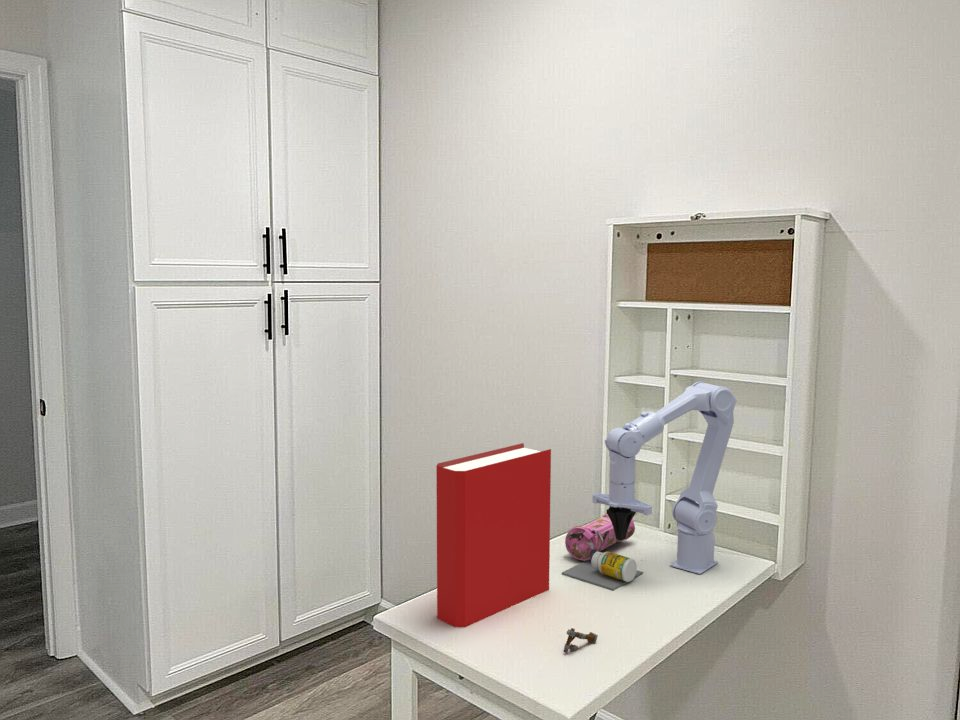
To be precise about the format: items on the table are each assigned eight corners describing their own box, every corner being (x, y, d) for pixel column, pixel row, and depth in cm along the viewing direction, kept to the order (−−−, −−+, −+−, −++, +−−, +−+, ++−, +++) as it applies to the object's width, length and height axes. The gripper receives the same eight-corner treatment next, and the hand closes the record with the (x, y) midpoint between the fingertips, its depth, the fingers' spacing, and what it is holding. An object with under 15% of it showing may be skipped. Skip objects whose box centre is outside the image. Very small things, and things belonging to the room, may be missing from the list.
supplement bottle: (639, 571, 182) (605, 560, 189) (634, 554, 180) (599, 543, 187) (627, 587, 179) (593, 575, 186) (622, 570, 177) (587, 559, 183)
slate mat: (592, 558, 195) (592, 557, 195) (642, 573, 186) (642, 571, 186) (561, 574, 185) (561, 572, 185) (613, 590, 176) (613, 588, 176)
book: (522, 579, 182) (523, 443, 178) (549, 589, 177) (550, 448, 173) (433, 616, 163) (432, 464, 159) (460, 629, 158) (460, 472, 154)
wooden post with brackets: (557, 649, 148) (565, 625, 148) (584, 654, 153) (591, 630, 153) (564, 653, 146) (572, 629, 147) (591, 657, 151) (598, 634, 152)
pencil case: (595, 566, 189) (596, 530, 188) (562, 557, 194) (563, 522, 194) (637, 543, 206) (638, 510, 205) (605, 536, 211) (606, 503, 210)
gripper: (585, 479, 182) (584, 536, 184) (641, 491, 173) (639, 551, 174) (602, 472, 188) (601, 528, 189) (657, 484, 178) (655, 542, 180)
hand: (620, 538), depth 182 cm, fingers closed
